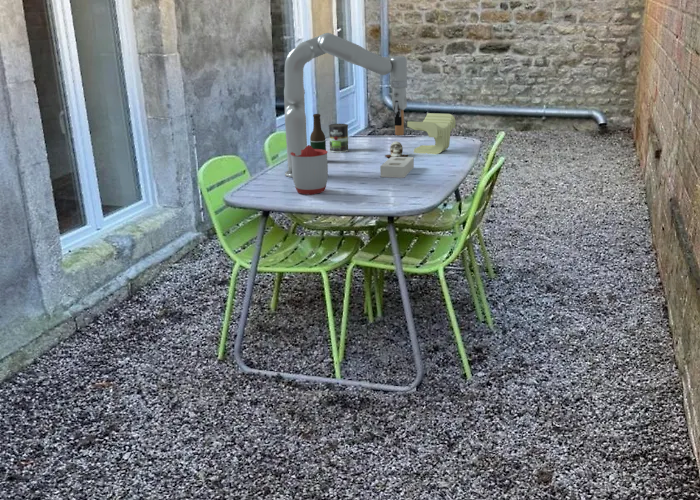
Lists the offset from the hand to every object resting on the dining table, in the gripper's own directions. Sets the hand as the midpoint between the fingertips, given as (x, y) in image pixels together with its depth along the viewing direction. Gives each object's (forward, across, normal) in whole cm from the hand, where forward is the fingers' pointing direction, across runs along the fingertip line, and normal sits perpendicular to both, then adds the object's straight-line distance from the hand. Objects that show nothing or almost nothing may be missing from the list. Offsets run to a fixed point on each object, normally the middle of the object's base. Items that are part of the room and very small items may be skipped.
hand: (399, 124), depth 336 cm
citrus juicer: (+21, -48, +29) cm, 60 cm away
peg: (+5, 0, 0) cm, 5 cm away
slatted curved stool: (+22, +46, -7) cm, 52 cm away
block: (+21, -6, 0) cm, 22 cm away
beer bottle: (+21, +12, +45) cm, 51 cm away
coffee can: (+22, +42, +43) cm, 63 cm away
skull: (+22, +31, +9) cm, 39 cm away
